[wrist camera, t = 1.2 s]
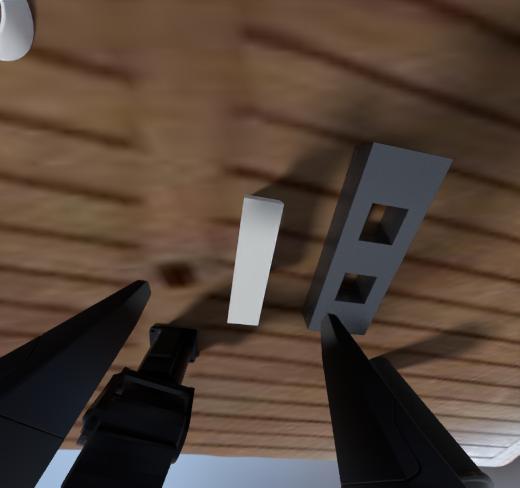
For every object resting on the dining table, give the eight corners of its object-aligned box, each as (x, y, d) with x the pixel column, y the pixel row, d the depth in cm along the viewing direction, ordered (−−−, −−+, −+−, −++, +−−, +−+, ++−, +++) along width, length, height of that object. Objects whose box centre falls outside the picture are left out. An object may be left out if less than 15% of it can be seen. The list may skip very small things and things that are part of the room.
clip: (255, 284, 24) (257, 325, 18) (233, 281, 24) (227, 322, 18) (273, 193, 20) (284, 204, 14) (246, 188, 20) (244, 197, 13)
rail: (352, 318, 28) (364, 335, 25) (302, 313, 27) (307, 329, 24) (424, 161, 20) (453, 159, 17) (355, 146, 19) (374, 142, 16)
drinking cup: (356, 353, 30) (520, 637, 12) (401, 349, 31) (632, 623, 12) (351, 382, 33) (477, 648, 15) (392, 378, 33) (568, 636, 15)
